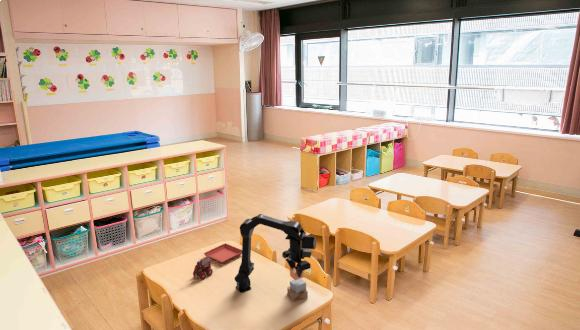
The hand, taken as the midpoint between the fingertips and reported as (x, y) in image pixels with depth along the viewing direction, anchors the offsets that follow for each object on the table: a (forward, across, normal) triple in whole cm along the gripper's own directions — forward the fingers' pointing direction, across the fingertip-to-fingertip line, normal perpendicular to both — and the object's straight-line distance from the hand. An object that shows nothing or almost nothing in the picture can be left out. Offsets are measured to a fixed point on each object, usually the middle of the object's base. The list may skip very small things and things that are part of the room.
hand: (296, 274), depth 209 cm
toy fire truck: (+12, +47, +35) cm, 60 cm away
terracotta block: (+1, 0, 0) cm, 1 cm away
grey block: (+9, 0, -1) cm, 9 cm away
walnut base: (+13, 0, 0) cm, 13 cm away
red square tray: (+12, +62, +16) cm, 65 cm away
